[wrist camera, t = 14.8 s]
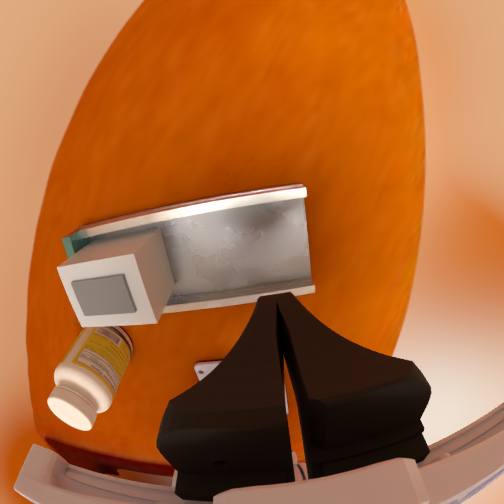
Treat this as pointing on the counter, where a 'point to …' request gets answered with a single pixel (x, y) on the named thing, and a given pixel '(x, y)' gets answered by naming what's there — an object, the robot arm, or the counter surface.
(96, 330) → the supplement bottle
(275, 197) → the rail plate
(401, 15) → the counter surface
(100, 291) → the block
